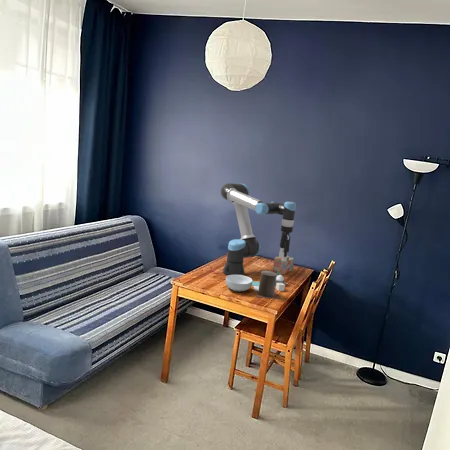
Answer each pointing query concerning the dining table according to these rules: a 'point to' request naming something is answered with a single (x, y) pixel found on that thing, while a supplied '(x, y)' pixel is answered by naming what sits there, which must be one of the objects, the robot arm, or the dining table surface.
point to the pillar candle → (267, 283)
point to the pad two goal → (255, 283)
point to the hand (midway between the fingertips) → (282, 259)
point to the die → (280, 286)
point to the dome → (279, 278)
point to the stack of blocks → (282, 265)
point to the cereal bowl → (238, 282)
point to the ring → (266, 297)
